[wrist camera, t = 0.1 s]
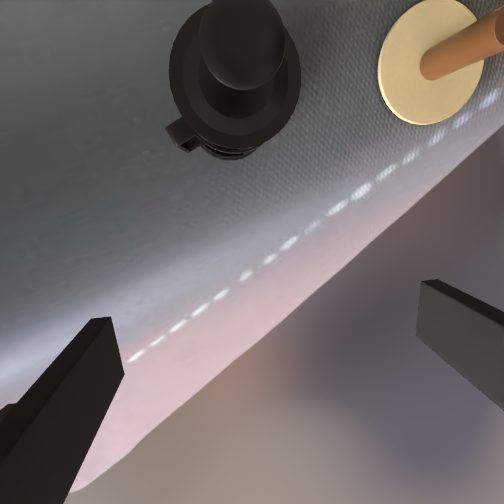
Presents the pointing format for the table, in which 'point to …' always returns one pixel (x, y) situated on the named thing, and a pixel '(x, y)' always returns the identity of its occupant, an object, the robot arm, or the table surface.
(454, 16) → the canister lid
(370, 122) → the table surface
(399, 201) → the table surface
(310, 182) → the table surface
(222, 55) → the french press
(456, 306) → the robot arm
